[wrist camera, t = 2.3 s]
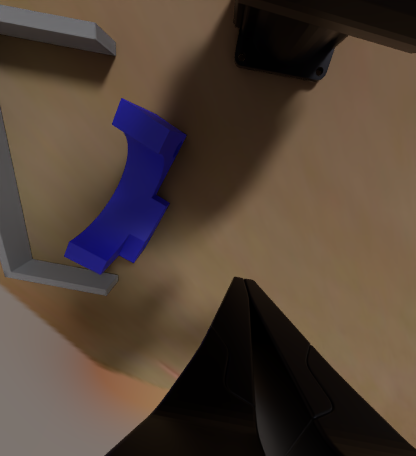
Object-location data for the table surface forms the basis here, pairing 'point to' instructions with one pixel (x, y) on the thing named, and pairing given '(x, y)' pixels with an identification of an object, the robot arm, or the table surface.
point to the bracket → (3, 169)
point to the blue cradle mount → (131, 192)
